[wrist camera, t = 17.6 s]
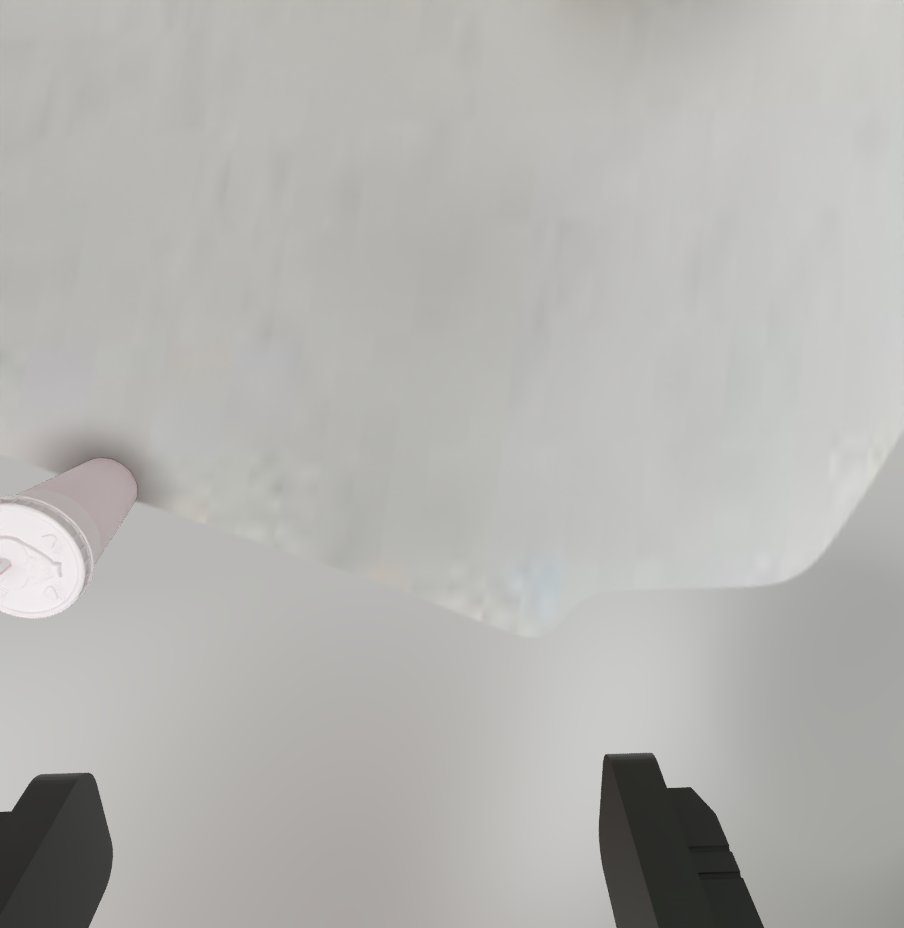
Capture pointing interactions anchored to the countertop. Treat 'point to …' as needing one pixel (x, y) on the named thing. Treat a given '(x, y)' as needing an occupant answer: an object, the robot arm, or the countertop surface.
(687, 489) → the countertop surface
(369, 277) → the countertop surface
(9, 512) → the smoothie
